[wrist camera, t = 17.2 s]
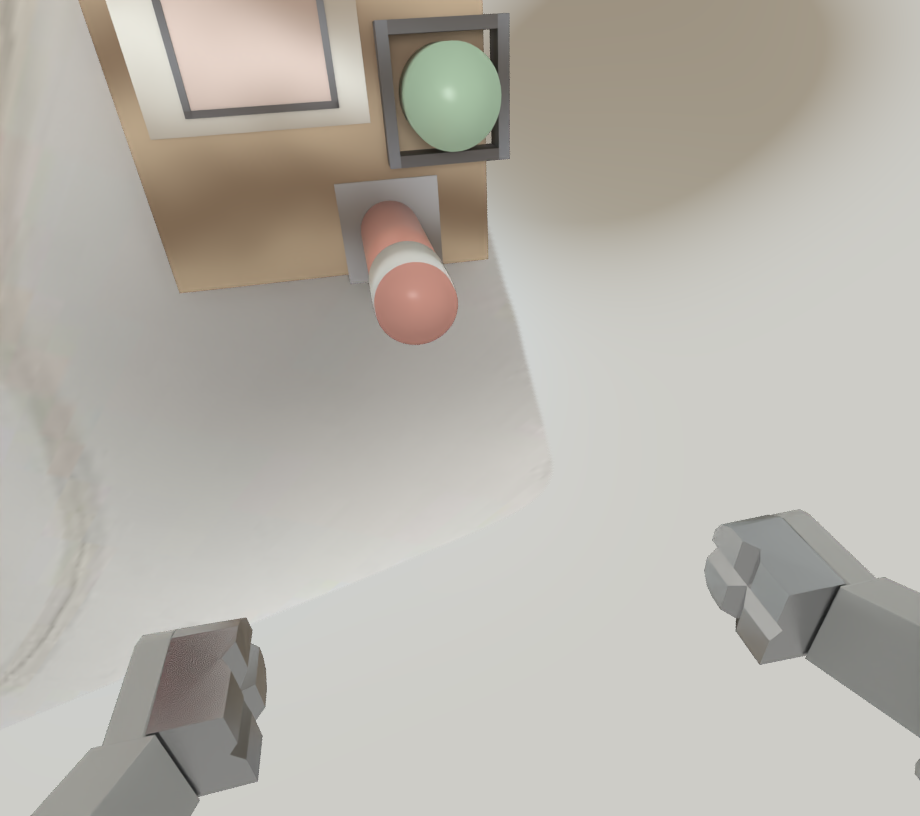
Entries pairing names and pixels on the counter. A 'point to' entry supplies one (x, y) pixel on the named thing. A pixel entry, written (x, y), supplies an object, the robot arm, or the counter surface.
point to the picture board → (290, 130)
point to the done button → (450, 94)
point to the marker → (406, 276)
